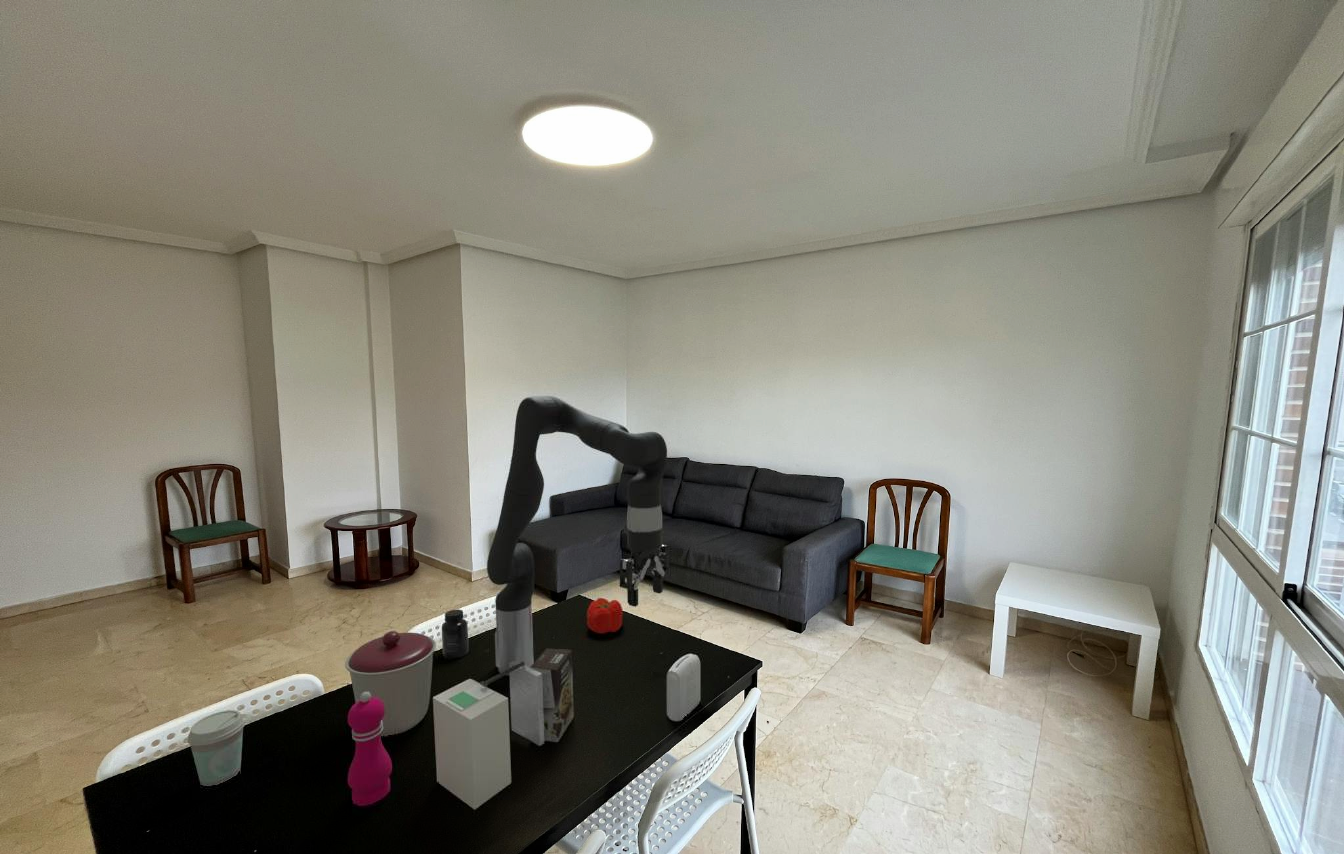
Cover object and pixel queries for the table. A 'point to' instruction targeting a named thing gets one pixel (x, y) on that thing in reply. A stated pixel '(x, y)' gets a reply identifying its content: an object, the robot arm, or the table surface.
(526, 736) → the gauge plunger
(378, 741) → the pepper mill
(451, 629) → the supplement bottle
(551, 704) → the coffee box
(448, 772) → the gauge housing
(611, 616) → the red bell pepper
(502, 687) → the table surface
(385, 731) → the canister
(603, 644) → the table surface
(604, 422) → the robot arm
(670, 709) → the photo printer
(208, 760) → the coffee cup
